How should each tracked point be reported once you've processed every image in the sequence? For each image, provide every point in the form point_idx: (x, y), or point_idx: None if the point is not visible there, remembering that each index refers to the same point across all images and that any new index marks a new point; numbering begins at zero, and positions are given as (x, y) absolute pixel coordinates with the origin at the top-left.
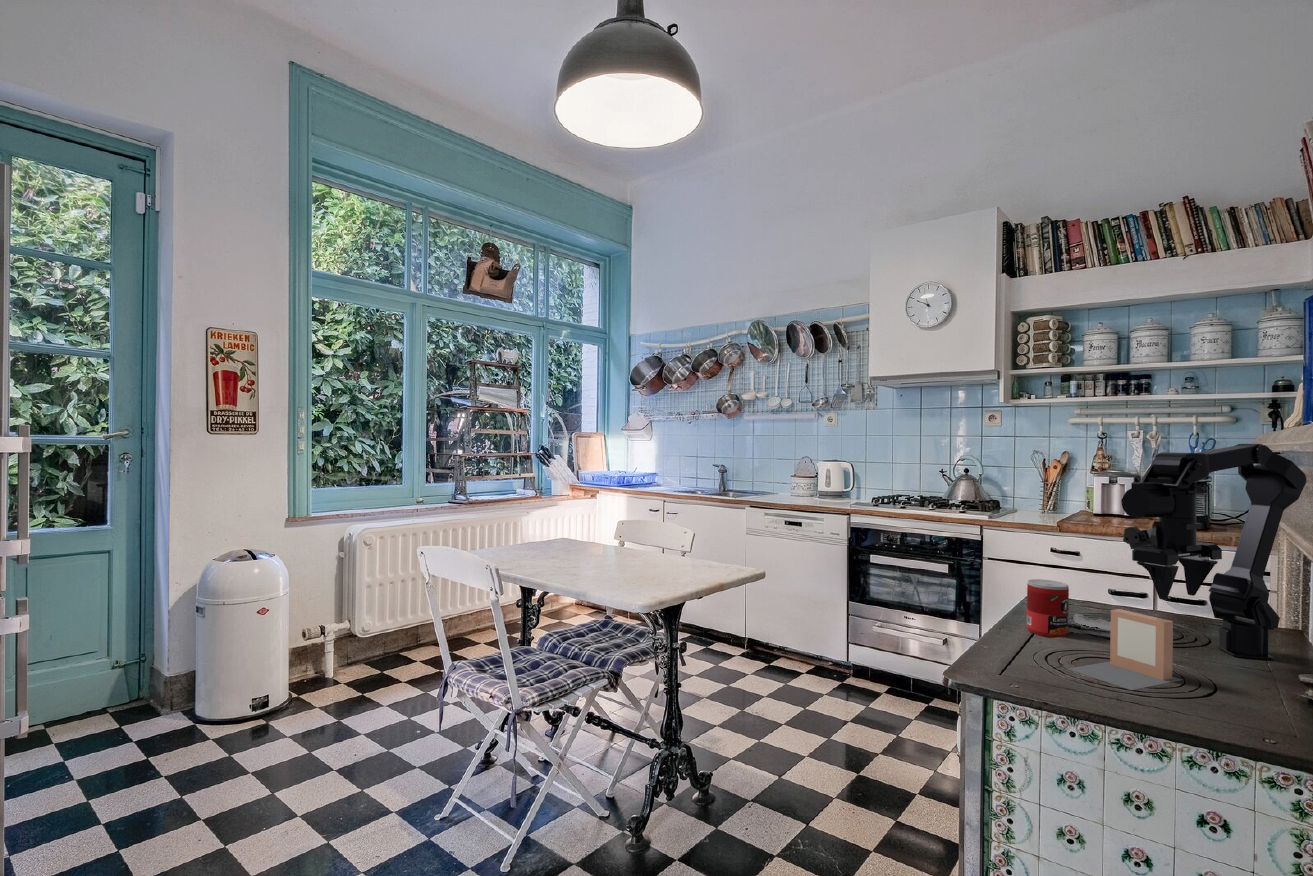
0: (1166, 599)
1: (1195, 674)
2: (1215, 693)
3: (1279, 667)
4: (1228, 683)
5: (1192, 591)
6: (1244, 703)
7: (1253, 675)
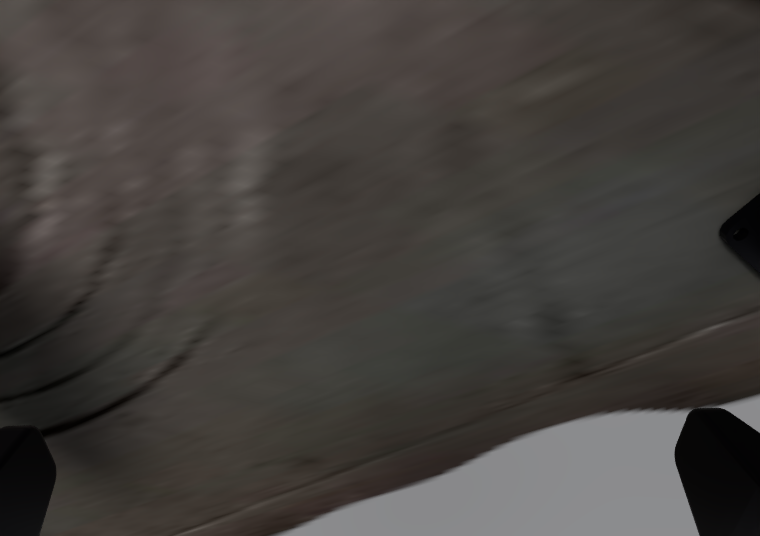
0: (54, 479)
1: (183, 308)
2: None
3: (694, 362)
4: (211, 403)
5: (706, 492)
6: None
7: (441, 383)
